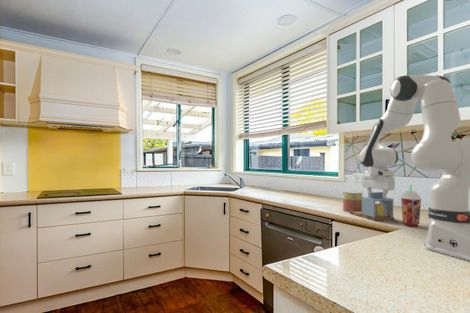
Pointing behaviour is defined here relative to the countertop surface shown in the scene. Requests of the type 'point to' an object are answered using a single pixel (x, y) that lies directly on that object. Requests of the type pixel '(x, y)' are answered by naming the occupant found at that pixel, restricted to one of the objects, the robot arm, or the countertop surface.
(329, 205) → the countertop surface
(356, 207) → the canned food
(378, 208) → the yellow block
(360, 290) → the countertop surface
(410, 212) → the smoothie
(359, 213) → the peg board
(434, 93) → the robot arm
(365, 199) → the cover
